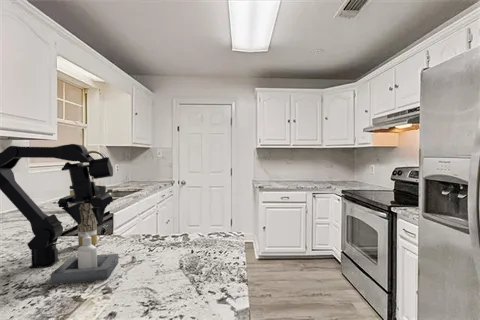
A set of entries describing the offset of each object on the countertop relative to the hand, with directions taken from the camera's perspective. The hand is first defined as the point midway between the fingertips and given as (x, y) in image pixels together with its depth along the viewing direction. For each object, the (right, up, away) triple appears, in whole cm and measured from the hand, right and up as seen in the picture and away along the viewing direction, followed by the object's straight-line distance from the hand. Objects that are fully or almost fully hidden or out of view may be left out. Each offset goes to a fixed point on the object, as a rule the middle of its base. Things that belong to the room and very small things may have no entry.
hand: (90, 224), depth 105 cm
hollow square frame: (+6, -12, -14) cm, 19 cm away
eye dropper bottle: (+6, -12, -14) cm, 20 cm away
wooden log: (-10, -12, +18) cm, 24 cm away
